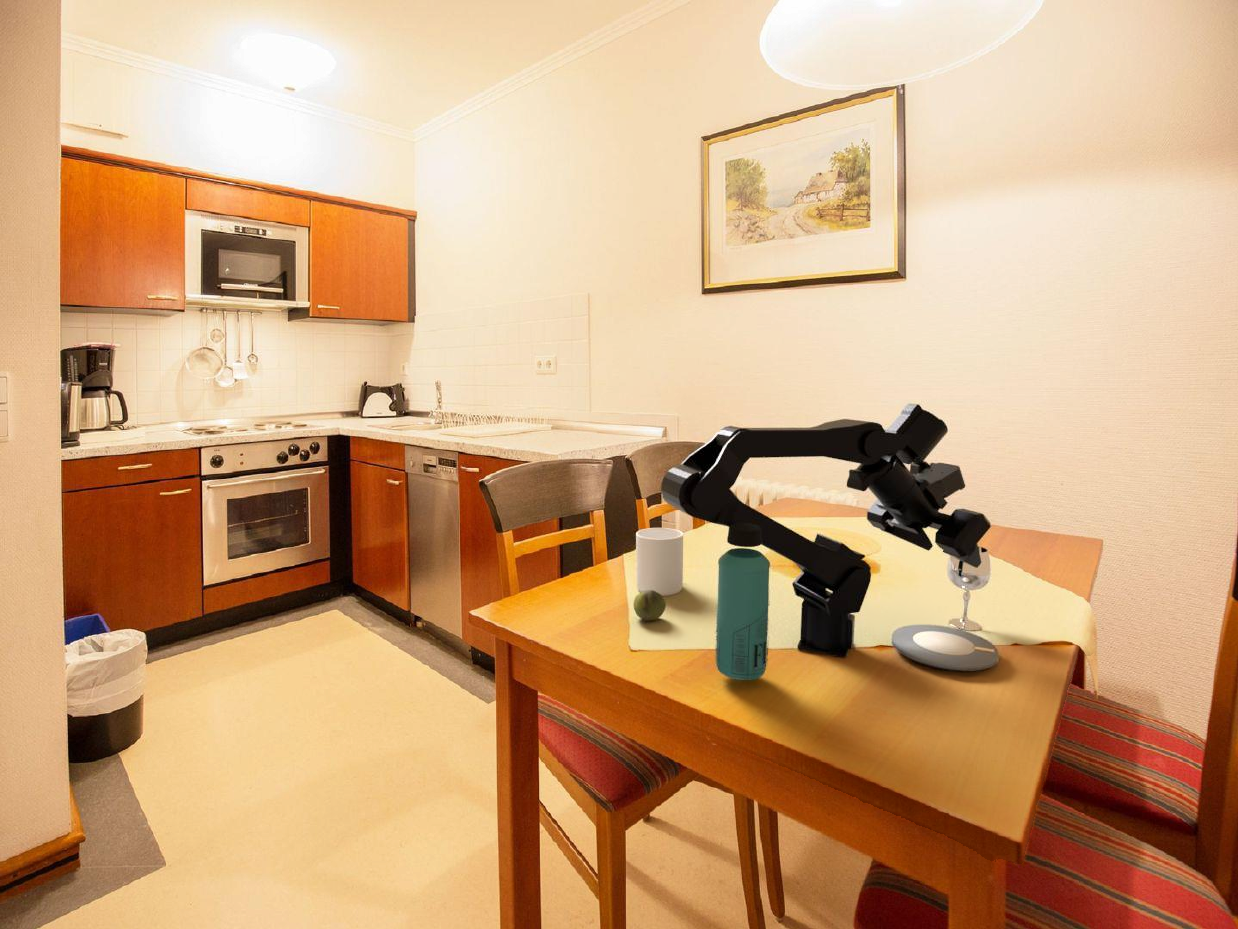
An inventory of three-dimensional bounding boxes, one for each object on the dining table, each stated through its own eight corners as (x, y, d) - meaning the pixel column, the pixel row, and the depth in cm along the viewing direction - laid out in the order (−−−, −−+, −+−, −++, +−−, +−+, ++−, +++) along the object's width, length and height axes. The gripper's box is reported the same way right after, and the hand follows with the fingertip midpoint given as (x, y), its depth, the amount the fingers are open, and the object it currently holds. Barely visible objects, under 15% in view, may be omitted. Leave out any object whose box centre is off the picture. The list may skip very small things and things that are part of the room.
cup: (634, 596, 112) (634, 538, 111) (639, 574, 124) (639, 522, 123) (682, 597, 111) (683, 540, 110) (682, 575, 123) (683, 523, 122)
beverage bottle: (756, 697, 78) (763, 536, 74) (705, 683, 81) (709, 527, 78) (774, 675, 83) (781, 523, 80) (725, 662, 86) (730, 516, 83)
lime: (629, 618, 102) (629, 588, 101) (655, 613, 104) (655, 583, 104) (644, 628, 98) (644, 597, 98) (670, 622, 101) (671, 591, 100)
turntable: (888, 658, 86) (888, 652, 86) (894, 624, 97) (895, 618, 97) (1002, 678, 80) (1002, 672, 80) (994, 639, 92) (994, 633, 92)
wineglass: (991, 633, 96) (998, 554, 94) (949, 630, 97) (955, 552, 95) (978, 619, 101) (984, 544, 100) (938, 616, 102) (944, 542, 101)
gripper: (985, 454, 84) (1043, 530, 88) (886, 439, 101) (939, 503, 106) (931, 518, 83) (992, 592, 87) (841, 491, 100) (896, 554, 105)
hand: (953, 556), depth 96 cm, fingers open, 9 cm apart
